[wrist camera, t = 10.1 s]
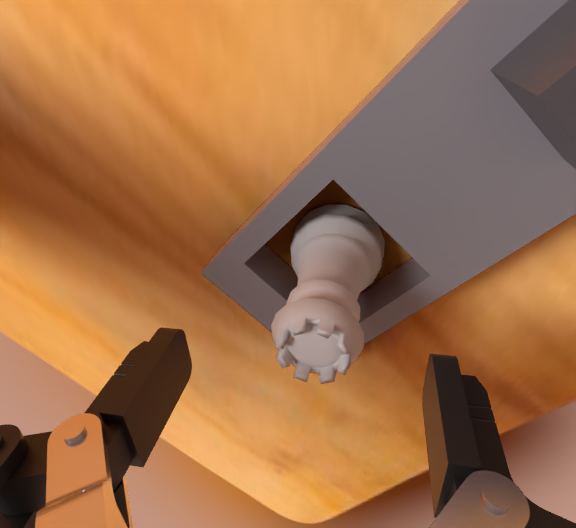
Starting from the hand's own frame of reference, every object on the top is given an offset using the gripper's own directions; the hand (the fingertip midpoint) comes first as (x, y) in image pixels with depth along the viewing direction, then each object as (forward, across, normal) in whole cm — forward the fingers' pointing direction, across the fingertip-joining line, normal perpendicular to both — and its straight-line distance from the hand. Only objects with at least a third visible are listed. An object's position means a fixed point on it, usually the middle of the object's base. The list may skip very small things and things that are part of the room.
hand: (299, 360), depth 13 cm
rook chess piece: (+8, -1, 0) cm, 8 cm away
